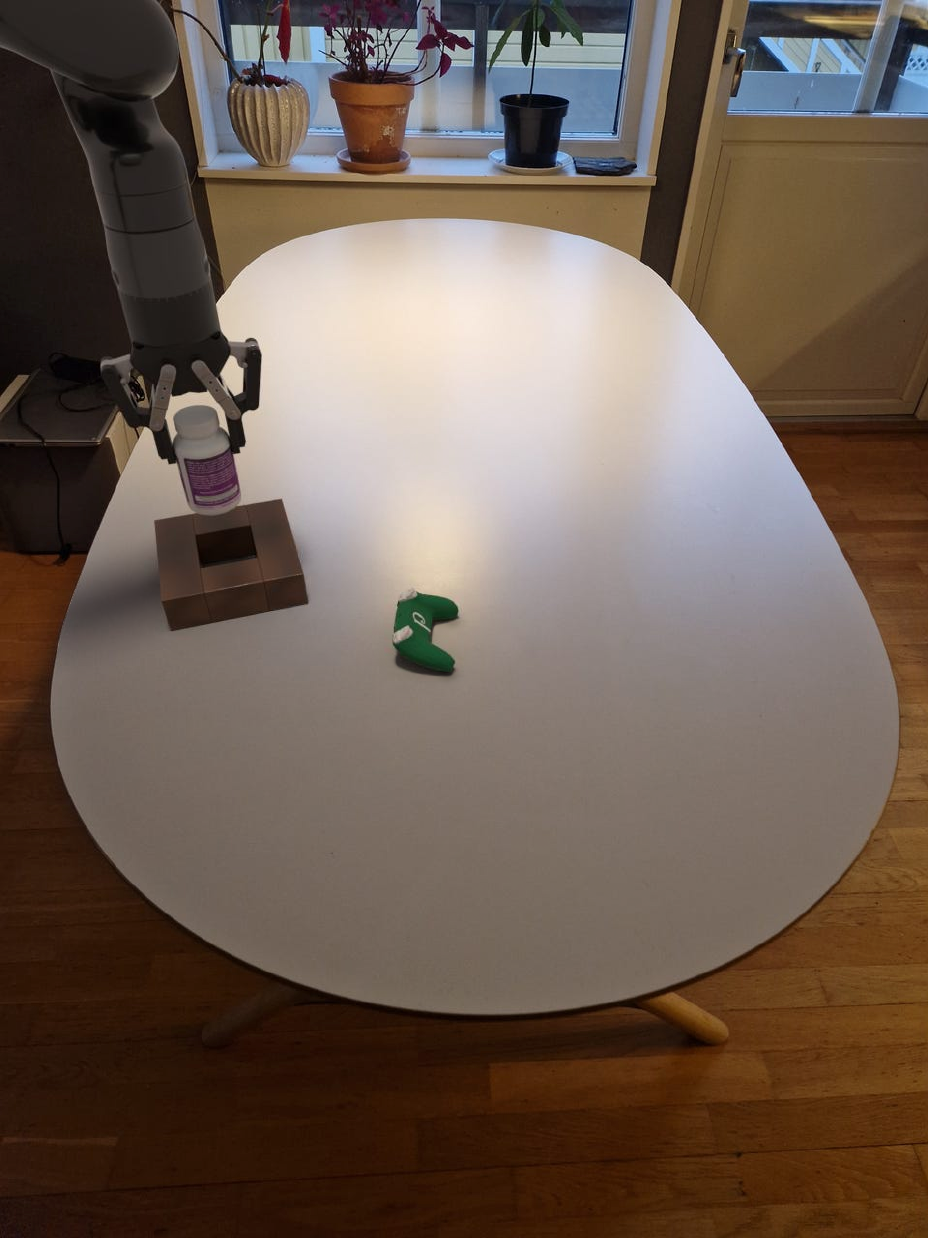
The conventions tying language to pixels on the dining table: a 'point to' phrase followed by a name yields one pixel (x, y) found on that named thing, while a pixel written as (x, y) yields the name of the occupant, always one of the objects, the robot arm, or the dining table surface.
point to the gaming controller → (422, 628)
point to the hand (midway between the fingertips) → (203, 454)
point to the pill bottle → (205, 461)
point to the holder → (228, 564)
